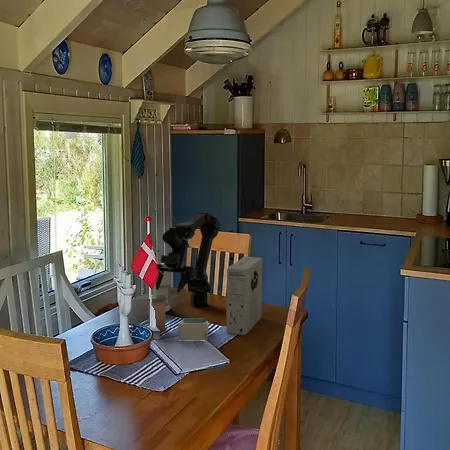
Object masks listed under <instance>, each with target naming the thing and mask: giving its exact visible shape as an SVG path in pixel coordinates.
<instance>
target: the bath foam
mask: <svg viewBox="0 0 450 450" xmlns="http://www.w3.org/2000/svg"><path fill="white" fill-rule="evenodd" d="M159 263H160V264H161V265H163V266H166V265H164V263H161V262H159ZM163 275H164V276H163V279H162V281H161V284H160V287H159V289H158V290H157V289H156V285H155V286H154V288H153V290H152V291H153V294H152V295H163V296H165V297H166V300H165V313H166V312H169V311H170V310H171V280H170V278H169V275H168V274H167V272H166V271H164V273H163Z"/></svg>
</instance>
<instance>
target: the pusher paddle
mask: <svg viewBox="0 0 450 450" xmlns="http://www.w3.org/2000/svg"><path fill="white" fill-rule="evenodd" d="M183 321H184V323H205V318H203V317H183Z"/></svg>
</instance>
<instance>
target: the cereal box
mask: <svg viewBox="0 0 450 450" xmlns="http://www.w3.org/2000/svg"><path fill="white" fill-rule="evenodd" d="M262 288H263V257H256V256H243V257H242V258H240V259H239V260H237V261H235V262H234V263H232V265H229V266H228V267H227V268H226V334H232V335H239V336H241V335H242V336H246V335H247V334H248V333H249V332H250V331H251V330H252V328H253V327H255V326H256V324H257V323H258V322H259V321H260V319H262V298H263V297H262V296H263V295H262V293H263V291H262V290H263V289H262Z"/></svg>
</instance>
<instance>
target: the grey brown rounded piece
mask: <svg viewBox="0 0 450 450" xmlns="http://www.w3.org/2000/svg"><path fill="white" fill-rule="evenodd" d="M165 300H166V297H165V296H163V295H153V294H152V306H153V308H154V310H155V319H156V327H157V328H158V329H159V330H160V332H164V331H165V330H166V312H165ZM147 301H148V325H149V324H150V299H149V296H148V297H147Z"/></svg>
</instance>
